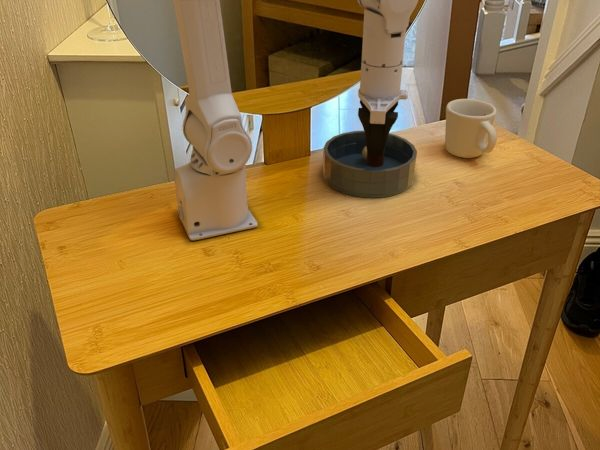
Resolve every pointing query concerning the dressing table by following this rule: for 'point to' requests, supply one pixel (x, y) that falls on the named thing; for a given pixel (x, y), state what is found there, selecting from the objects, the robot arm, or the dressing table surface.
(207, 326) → the dressing table surface
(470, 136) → the cup
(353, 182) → the bowl
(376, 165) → the stick
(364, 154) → the bead
